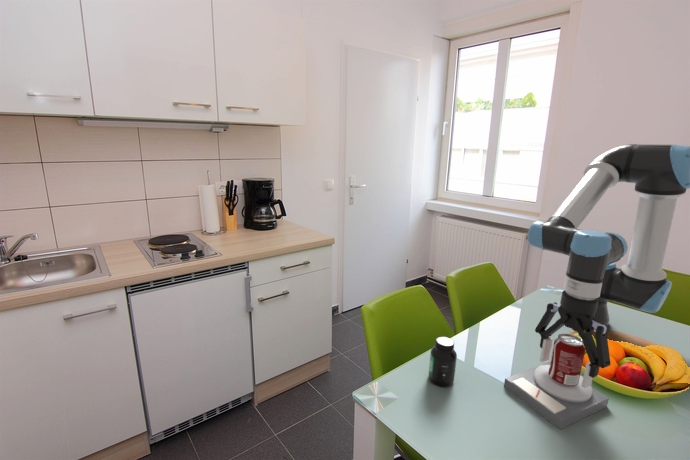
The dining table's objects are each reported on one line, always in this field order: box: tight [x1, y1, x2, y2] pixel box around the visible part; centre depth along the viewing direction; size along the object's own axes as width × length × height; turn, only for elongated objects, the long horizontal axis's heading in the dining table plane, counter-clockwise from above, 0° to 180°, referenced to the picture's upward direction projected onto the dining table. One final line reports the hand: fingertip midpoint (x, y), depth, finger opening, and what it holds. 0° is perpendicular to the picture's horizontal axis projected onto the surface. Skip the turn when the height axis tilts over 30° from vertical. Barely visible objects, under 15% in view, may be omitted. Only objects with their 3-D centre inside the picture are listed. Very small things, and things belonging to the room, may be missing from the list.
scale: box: [503, 361, 610, 430], centre depth 92 cm, size 18×16×4 cm
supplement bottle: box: [428, 336, 458, 388], centre depth 96 cm, size 7×7×12 cm
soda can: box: [548, 333, 586, 387], centre depth 91 cm, size 7×7×12 cm
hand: (564, 372), depth 92 cm, fingers open, 10 cm apart
